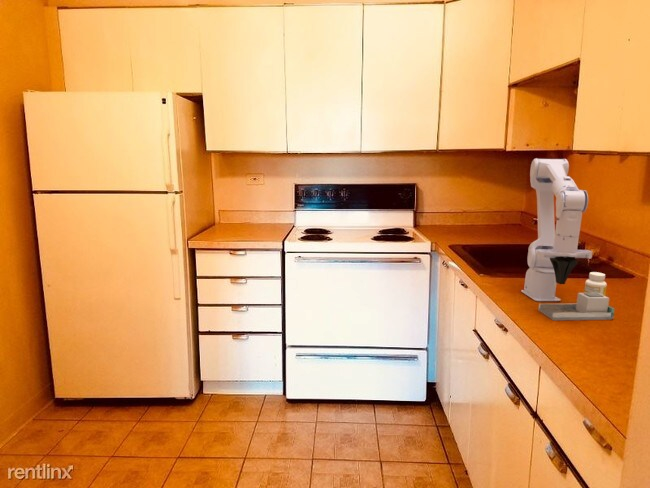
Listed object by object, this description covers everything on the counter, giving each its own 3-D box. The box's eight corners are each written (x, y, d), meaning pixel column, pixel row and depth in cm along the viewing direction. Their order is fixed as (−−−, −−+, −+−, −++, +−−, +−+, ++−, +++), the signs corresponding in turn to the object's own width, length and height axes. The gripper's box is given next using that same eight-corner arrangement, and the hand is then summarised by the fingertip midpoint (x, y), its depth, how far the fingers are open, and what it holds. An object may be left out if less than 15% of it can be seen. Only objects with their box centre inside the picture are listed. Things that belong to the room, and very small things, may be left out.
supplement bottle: (595, 301, 133) (600, 271, 131) (607, 308, 127) (612, 276, 125) (578, 301, 132) (583, 271, 130) (589, 308, 127) (594, 276, 125)
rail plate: (553, 320, 118) (554, 309, 117) (538, 310, 125) (539, 299, 124) (612, 319, 119) (614, 308, 118) (594, 309, 126) (596, 299, 125)
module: (575, 309, 124) (578, 291, 123) (595, 309, 124) (598, 291, 123) (585, 315, 120) (588, 297, 118) (606, 315, 120) (609, 297, 119)
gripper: (549, 238, 112) (542, 287, 115) (602, 238, 113) (595, 287, 116) (534, 232, 119) (529, 280, 122) (585, 232, 120) (578, 279, 123)
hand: (560, 283), depth 120 cm, fingers closed
